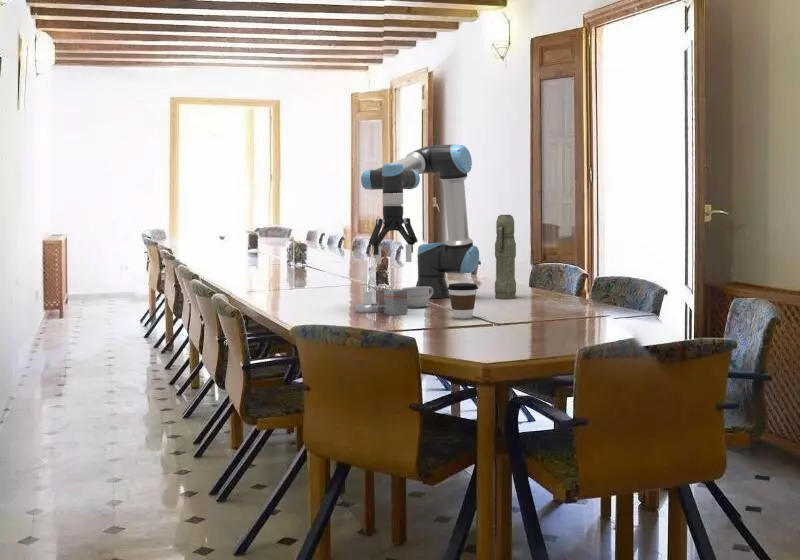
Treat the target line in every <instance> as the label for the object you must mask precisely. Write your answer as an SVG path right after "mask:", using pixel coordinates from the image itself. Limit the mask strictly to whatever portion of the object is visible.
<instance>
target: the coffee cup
mask: <svg viewBox="0 0 800 560" xmlns="http://www.w3.org/2000/svg"><path fill="white" fill-rule="evenodd" d="M447 289H448V290H449V297H450V305H451V309H452V313H453V315H452V316H453V318H454V317H455V318H454V319H457V318H460V319H459V320H462V319H464V320H467V319H466V318H468V319H472V317H473V313H474V309H475V305H476V304H475V303H476V297H477V294H476V293H477V290H478V289H479V287H478V284H477V283H473V282H472V283H471V282H470V283H469V282H456V283H450V284H448V287H447Z"/></svg>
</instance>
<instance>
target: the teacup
mask: <svg viewBox="0 0 800 560" xmlns="http://www.w3.org/2000/svg"><path fill="white" fill-rule="evenodd" d="M401 289H402V290H407V308H411V309H413V308H414V309H416V308H424V307H426V306H427V305H429V302H430V299H431V298H430V297H431V296H432V295H433V288H432V287H416V286H409V287H403V288H401ZM429 289H430V294H429Z"/></svg>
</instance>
